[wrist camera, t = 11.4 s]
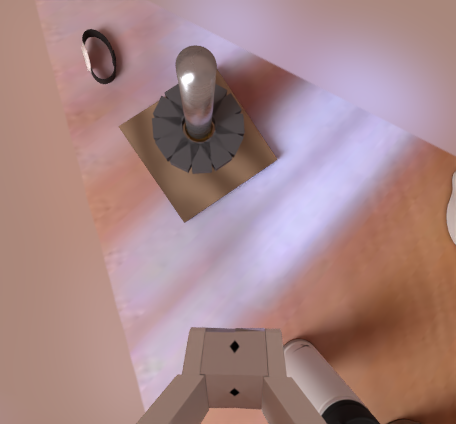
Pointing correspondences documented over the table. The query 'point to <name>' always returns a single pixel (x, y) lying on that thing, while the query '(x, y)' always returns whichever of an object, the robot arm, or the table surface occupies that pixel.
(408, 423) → the plant pot
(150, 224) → the table surface
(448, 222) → the robot arm
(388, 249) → the table surface
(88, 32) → the watch
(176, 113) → the grey gear
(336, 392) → the travel mug
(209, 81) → the metallic rounded rod
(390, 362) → the table surface
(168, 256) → the table surface
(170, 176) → the stand
